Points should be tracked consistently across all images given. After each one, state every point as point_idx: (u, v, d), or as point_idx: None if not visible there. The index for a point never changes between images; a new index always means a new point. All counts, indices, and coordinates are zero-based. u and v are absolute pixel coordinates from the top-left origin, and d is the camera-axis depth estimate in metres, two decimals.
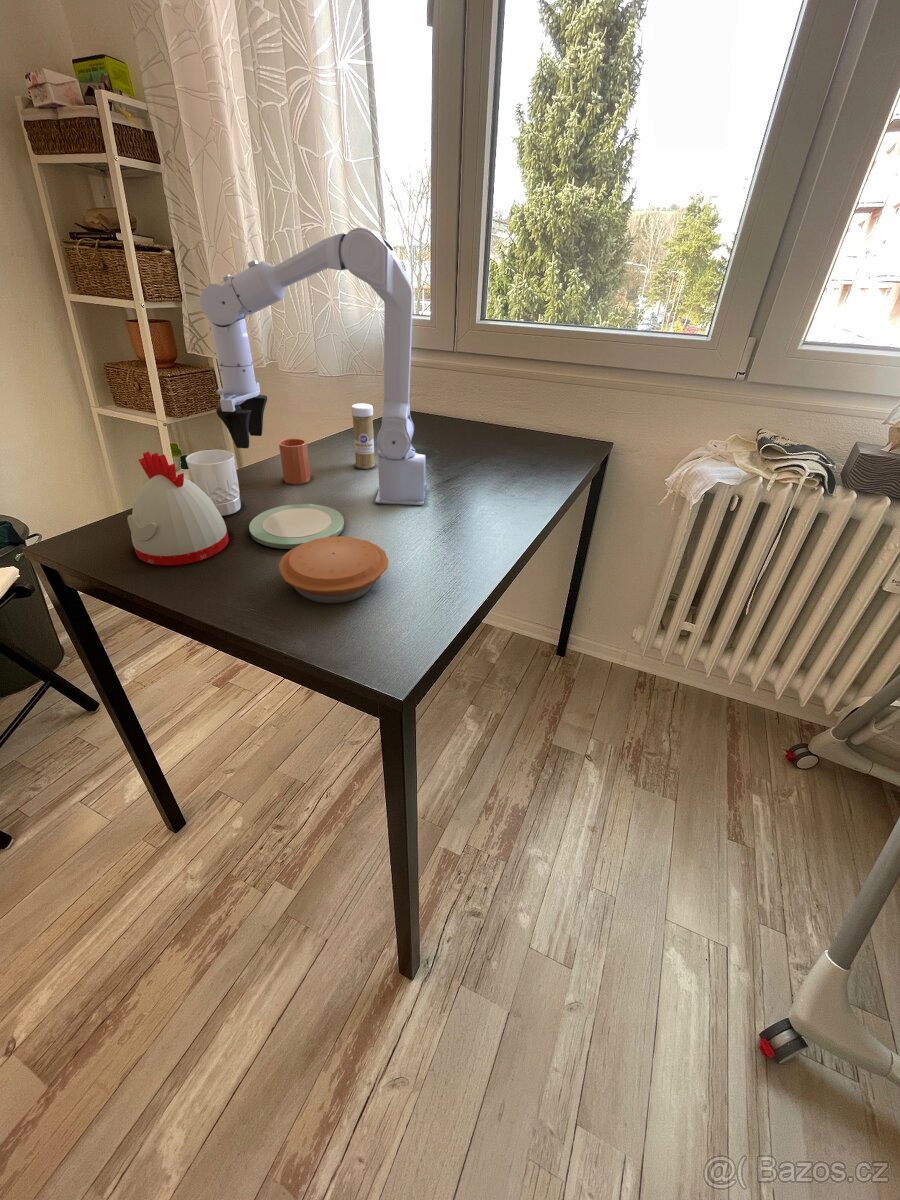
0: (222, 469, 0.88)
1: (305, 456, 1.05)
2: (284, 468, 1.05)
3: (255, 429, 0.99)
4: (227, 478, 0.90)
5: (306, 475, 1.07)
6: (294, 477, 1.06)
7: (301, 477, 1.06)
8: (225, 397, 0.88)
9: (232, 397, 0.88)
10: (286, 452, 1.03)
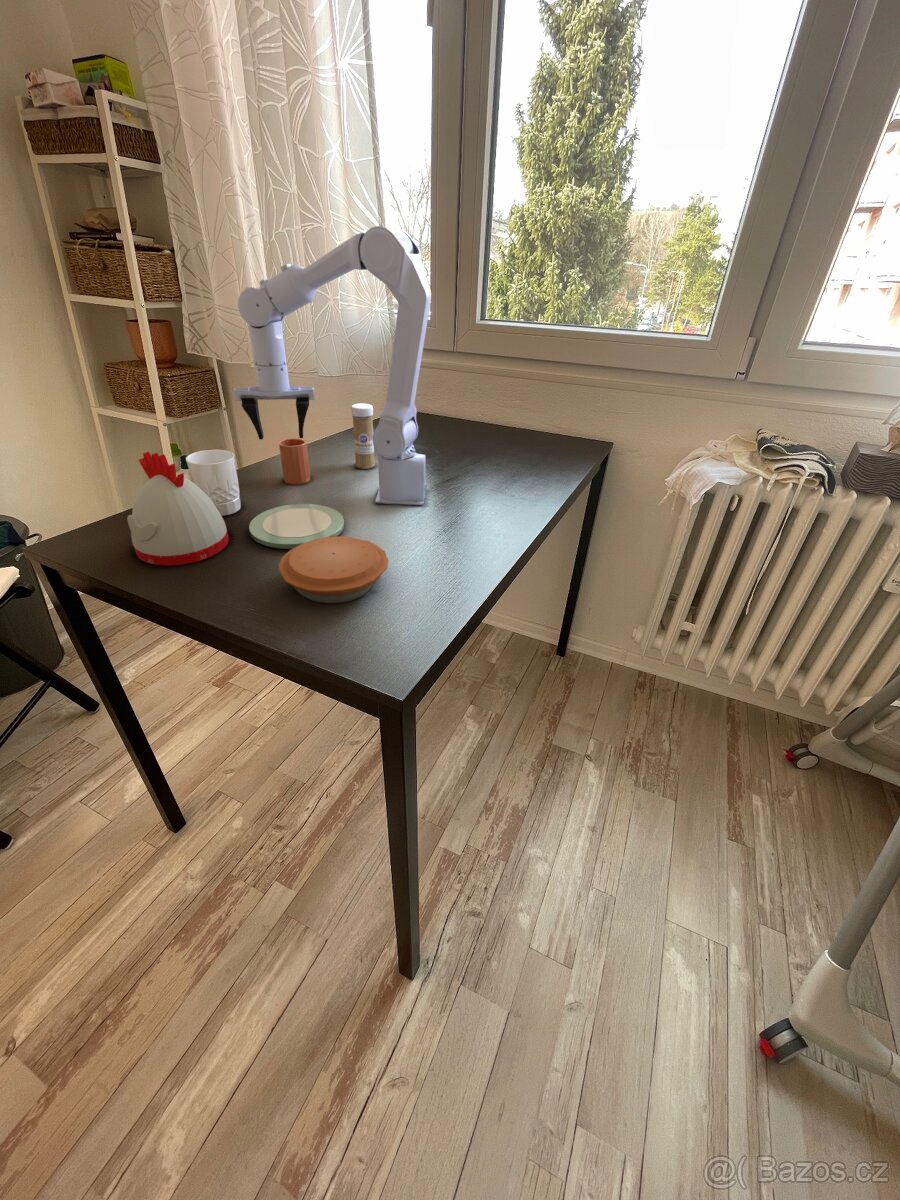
0: (222, 469, 0.88)
1: (305, 456, 1.05)
2: (284, 468, 1.05)
3: None
4: (227, 478, 0.90)
5: (306, 475, 1.07)
6: (294, 477, 1.06)
7: (301, 477, 1.06)
8: (248, 388, 0.97)
9: (247, 390, 0.96)
10: (286, 452, 1.03)
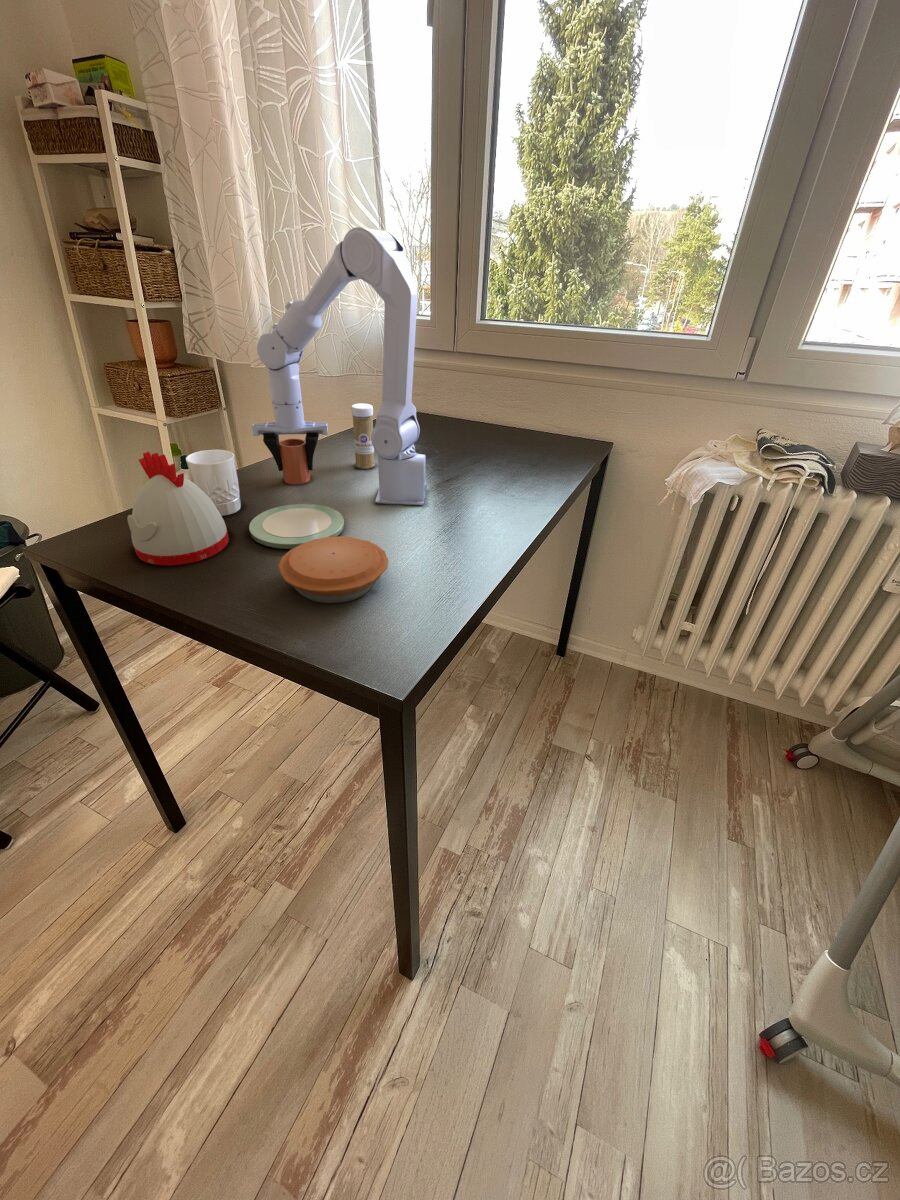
0: (222, 469, 0.88)
1: (305, 456, 1.05)
2: (284, 468, 1.05)
3: None
4: (227, 478, 0.90)
5: (306, 475, 1.07)
6: (294, 477, 1.06)
7: (301, 477, 1.06)
8: (266, 424, 1.02)
9: (265, 425, 1.01)
10: (286, 452, 1.03)
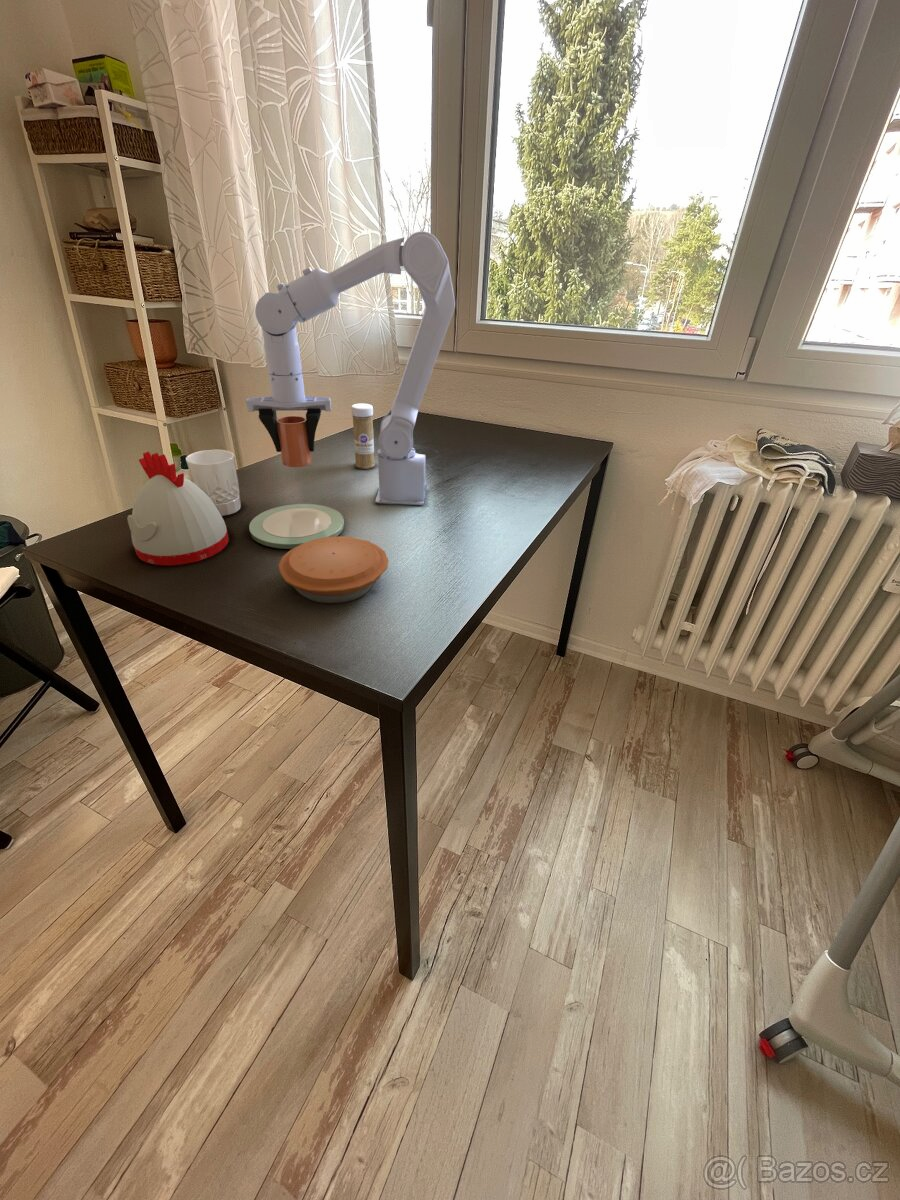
0: (222, 469, 0.88)
1: (306, 435, 0.94)
2: (282, 449, 0.94)
3: None
4: (227, 478, 0.90)
5: (307, 457, 0.96)
6: (294, 459, 0.95)
7: (301, 459, 0.95)
8: (262, 399, 0.91)
9: (261, 400, 0.90)
10: (285, 431, 0.92)
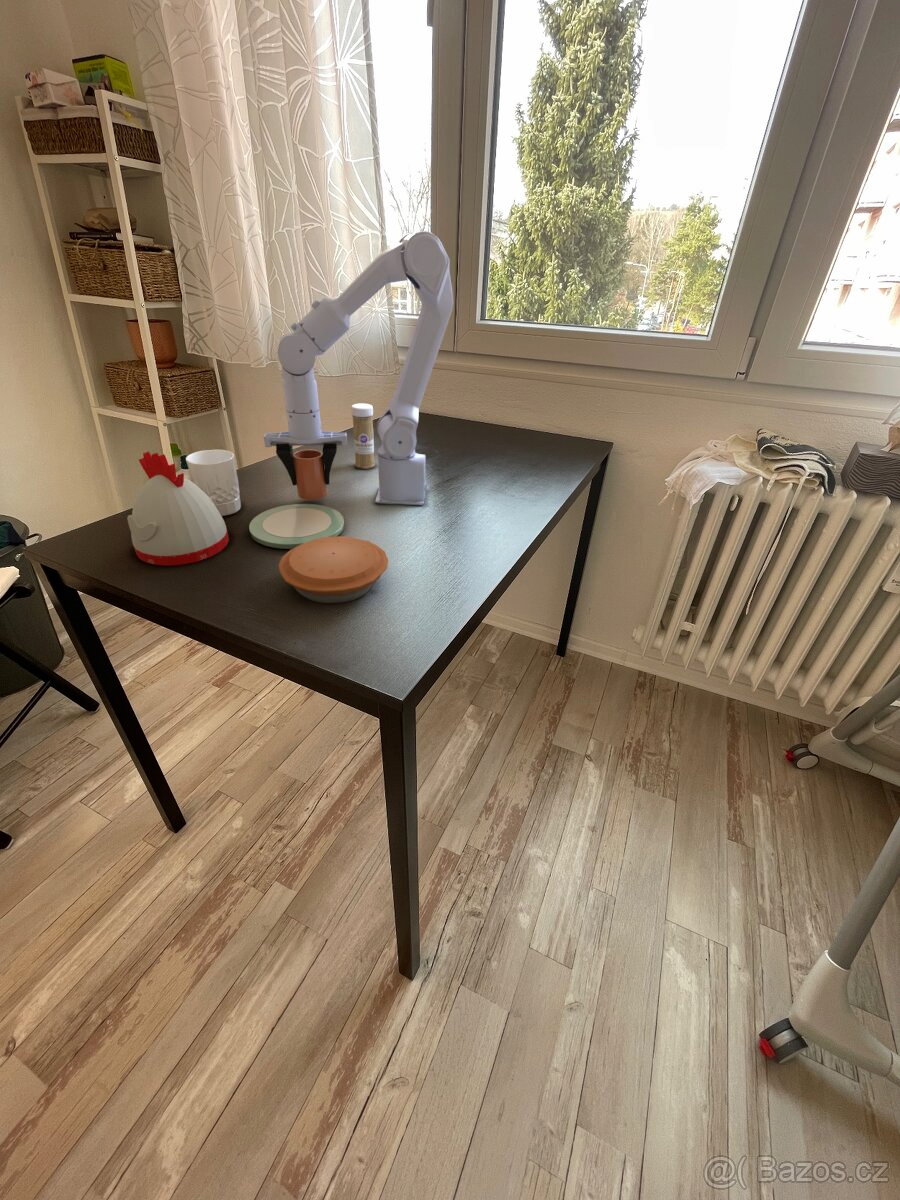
0: (222, 469, 0.88)
1: (322, 469, 0.95)
2: (298, 482, 0.95)
3: None
4: (227, 478, 0.90)
5: (322, 490, 0.97)
6: (310, 492, 0.96)
7: (317, 492, 0.96)
8: (279, 434, 0.92)
9: (278, 436, 0.91)
10: (302, 465, 0.93)
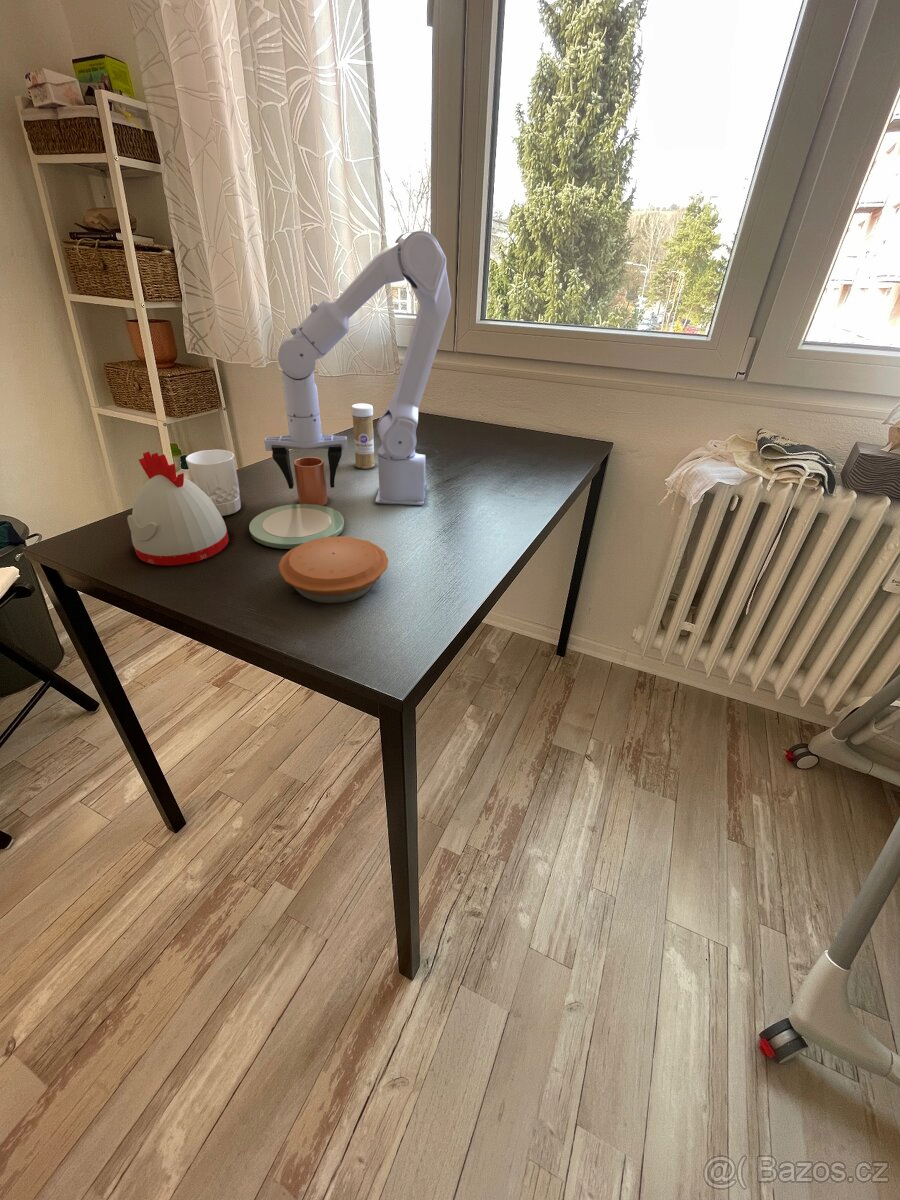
0: (222, 469, 0.88)
1: (322, 477, 0.96)
2: (299, 490, 0.96)
3: None
4: (227, 478, 0.90)
5: (323, 497, 0.98)
6: (311, 500, 0.97)
7: (318, 499, 0.97)
8: (279, 437, 0.93)
9: (279, 439, 0.92)
10: (302, 473, 0.94)
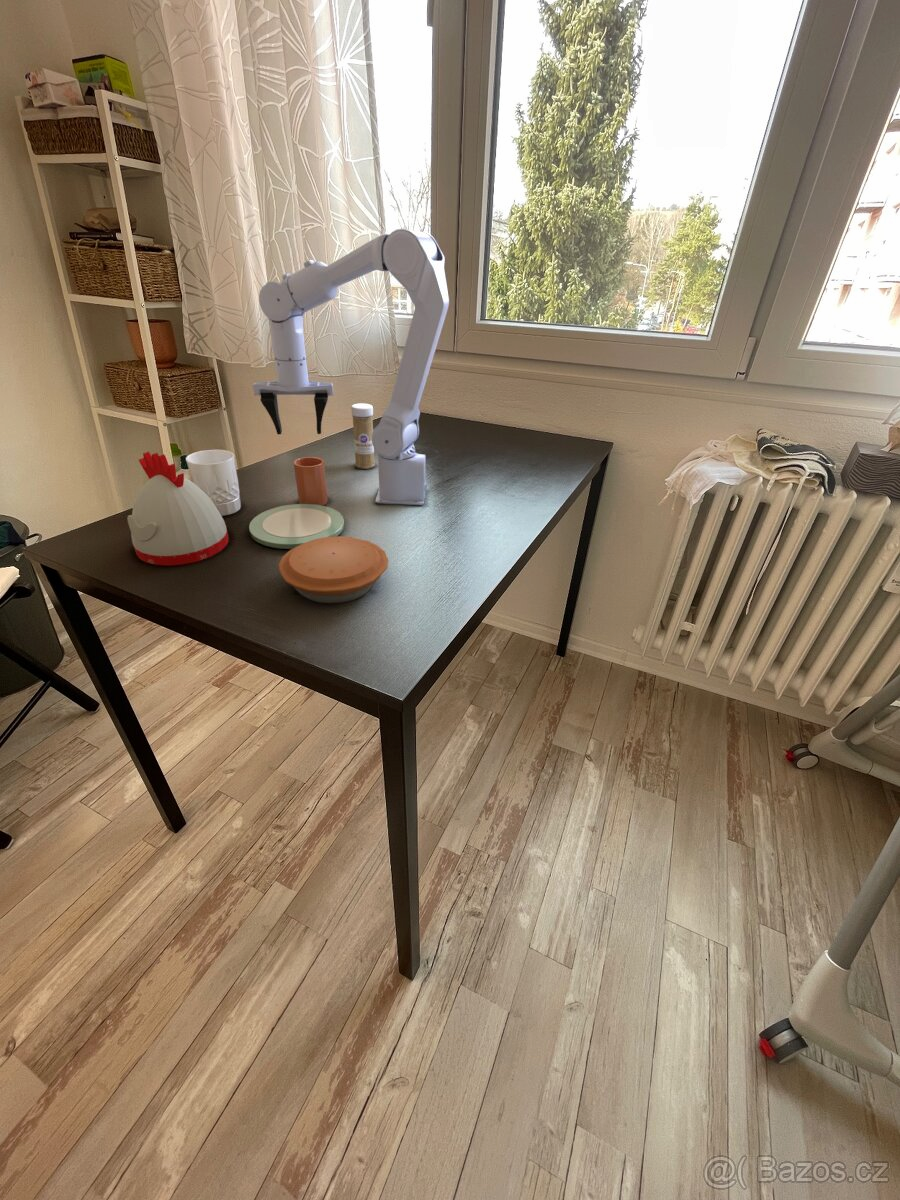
0: (222, 469, 0.88)
1: (322, 477, 0.96)
2: (299, 490, 0.96)
3: None
4: (227, 478, 0.90)
5: (323, 497, 0.98)
6: (311, 500, 0.97)
7: (318, 499, 0.97)
8: None
9: (267, 384, 0.96)
10: (302, 473, 0.94)
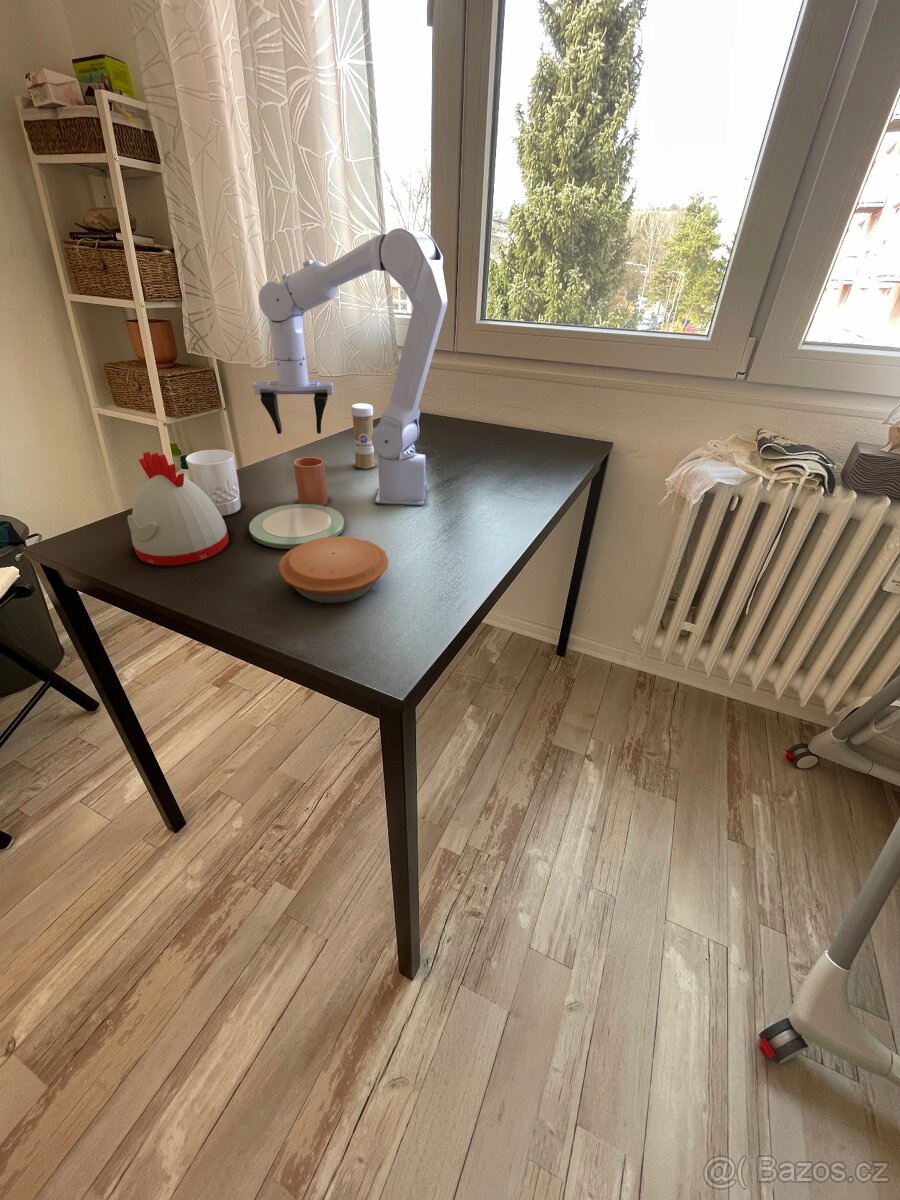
0: (222, 469, 0.88)
1: (322, 477, 0.96)
2: (299, 490, 0.96)
3: None
4: (227, 478, 0.90)
5: (323, 497, 0.98)
6: (311, 500, 0.97)
7: (318, 499, 0.97)
8: (268, 383, 0.97)
9: (267, 384, 0.96)
10: (302, 473, 0.94)
